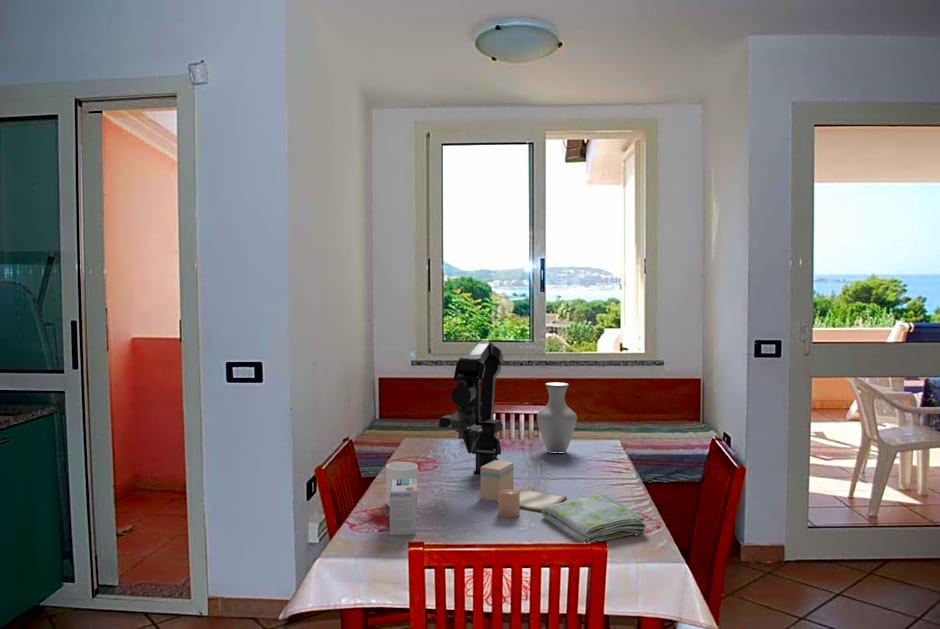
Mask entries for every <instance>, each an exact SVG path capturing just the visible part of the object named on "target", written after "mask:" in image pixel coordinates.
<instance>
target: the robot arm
mask: <svg viewBox="0 0 940 629" xmlns="http://www.w3.org/2000/svg"><path fill="white" fill-rule="evenodd" d="M503 364H504V355H503V353H502V350H501V349H500V348H499V347H497V346H495V345H494V343H493V342H491V341H480V340H479V341H477V342H476V343H475V347H474V348H473V349H472V350H471V352H469V354H467V355H462V356H460V357H459V359H458V360H457V361H456V365H455V369H454V374H453V382H455V383H457V385H456V386H454V388H453V389H452V391H451V394H450V397H451V400H452V402H453V403H454V404H455V405H457V409H456V411H455V412H454V413H453V414H447V415H444V416H441V417H440V418H439V419H438V422H437V423H438V428H444V429H447V428H449V426H450V427H451V429H452V430H454V431H455V432H456V433H458V434H459V435H461V438H462V440H463V442H464V445H465V449H466V451H467V453H468V454H472V455H475V470H473V471H472V473H473V472H474V473H473V474H477V473H480V471H481V467H482V466H484V465H486V464H488V463H490V462H492V461H494V460H499V458H498V455H501V454H502V446H501V441H500V438H499V436H498V433H499V432H501V431H503V428H504V427H503V426H504V425H503V422H502V420H501V419H500V420H499V419H494V412H495V411H494V409H495V408H494V407H495V393H496V391H495V390H496V379H497V377H498V375H499V374H500V372H502V366H503ZM480 384H481V385H480Z"/></svg>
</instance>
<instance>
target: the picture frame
mask: <svg viewBox="0 0 940 629" xmlns="http://www.w3.org/2000/svg"><path fill="white" fill-rule="evenodd" d="M518 491H519V492H520V509H521V510H527V511H533V512H539V513H542V509H543V508H544V507H546V506H549V505H553V504H557V503H562V502H565V501H567V499H568V498H567V497H568V496H565V495H557V494H552V493H546V492H541V491H540V492H539V491H534V490H527V489H520V490H518Z"/></svg>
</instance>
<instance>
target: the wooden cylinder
mask: <svg viewBox="0 0 940 629" xmlns="http://www.w3.org/2000/svg"><path fill="white" fill-rule="evenodd" d="M519 491H520V490H517V489H514V488H513V489H504V490H500V491H499V492H498V501H497V503H498V506H497V507H498V509H497V510H498V514H497V515H498V517H500V518H503V519H516V518H519V517H520V516H521V512H520V511H521V510H520V509H521V508H520V492H519Z"/></svg>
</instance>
